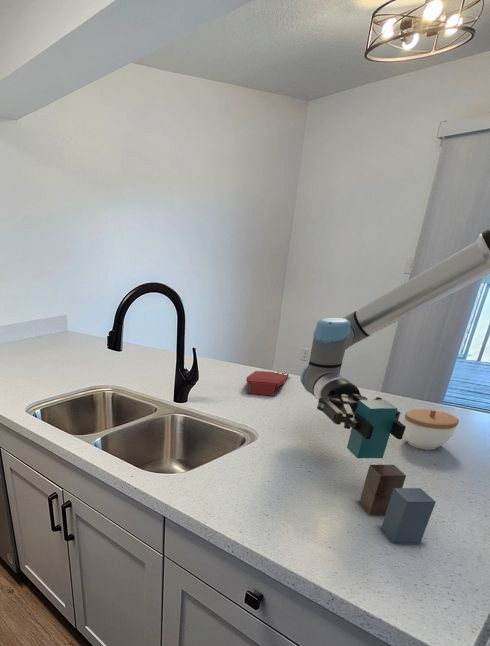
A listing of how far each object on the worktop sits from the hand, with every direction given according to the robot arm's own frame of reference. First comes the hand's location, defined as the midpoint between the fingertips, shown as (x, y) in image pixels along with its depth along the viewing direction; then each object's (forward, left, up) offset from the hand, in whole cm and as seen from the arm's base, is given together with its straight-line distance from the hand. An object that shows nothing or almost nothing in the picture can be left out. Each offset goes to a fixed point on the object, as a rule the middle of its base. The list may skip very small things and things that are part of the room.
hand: (385, 432), depth 84 cm
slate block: (0, +13, -15) cm, 20 cm away
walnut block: (0, +4, -15) cm, 16 cm away
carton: (0, -78, -15) cm, 80 cm away
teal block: (0, -5, -7) cm, 9 cm away
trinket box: (-25, -26, -15) cm, 39 cm away
